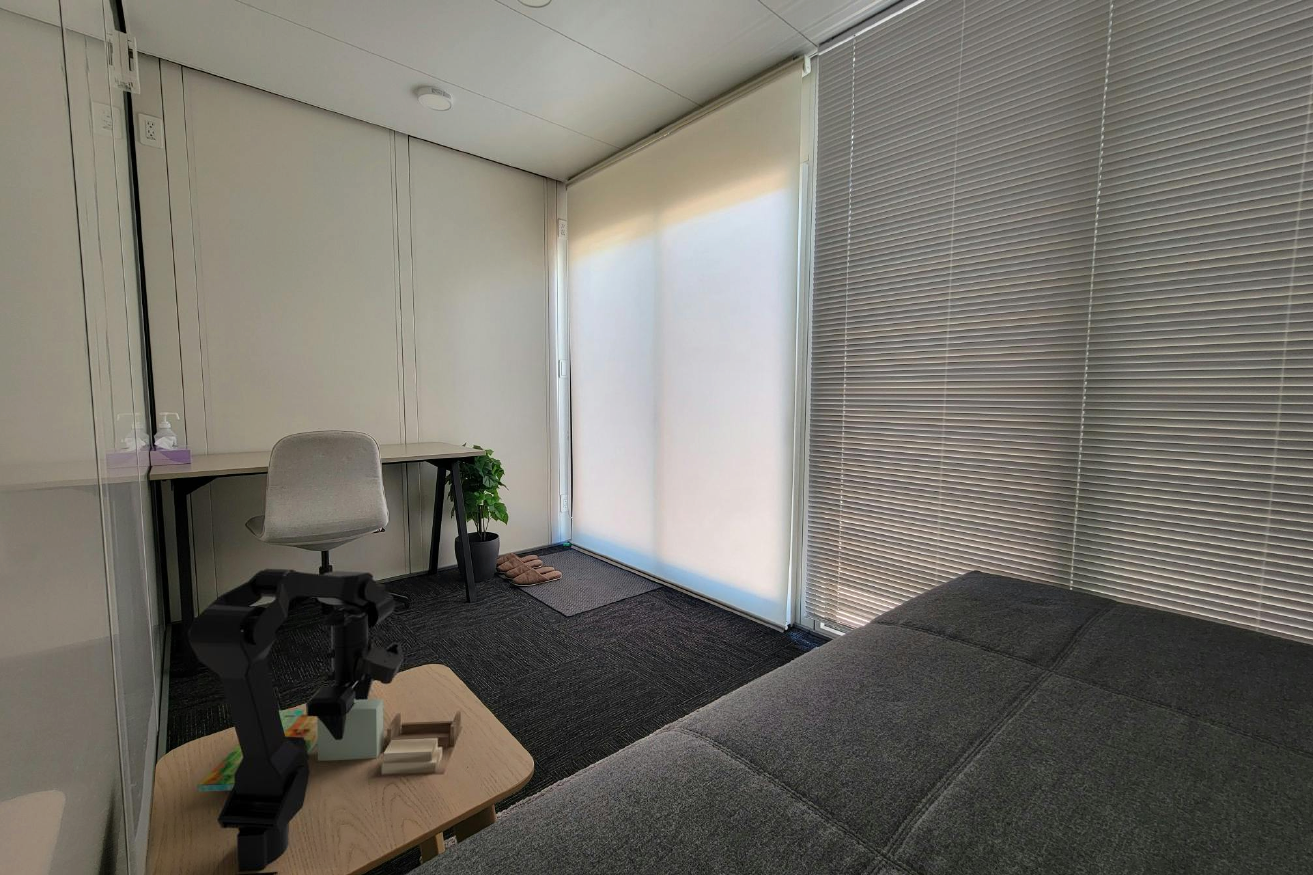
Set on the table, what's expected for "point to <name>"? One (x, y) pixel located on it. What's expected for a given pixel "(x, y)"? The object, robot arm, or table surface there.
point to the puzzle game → (223, 774)
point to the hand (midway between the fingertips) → (351, 722)
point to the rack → (422, 730)
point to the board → (355, 733)
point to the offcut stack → (412, 756)
